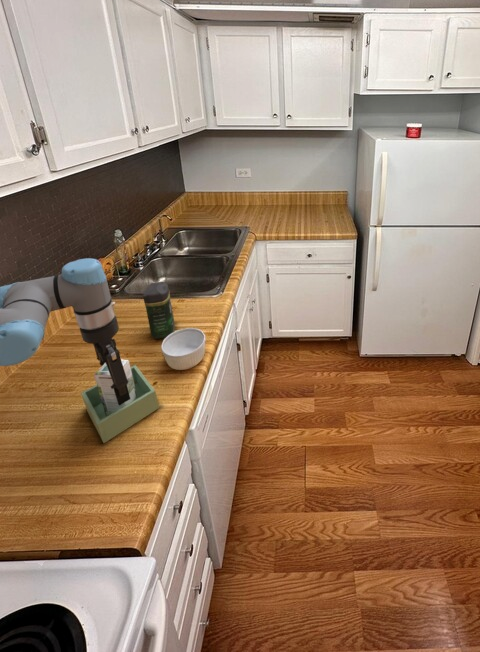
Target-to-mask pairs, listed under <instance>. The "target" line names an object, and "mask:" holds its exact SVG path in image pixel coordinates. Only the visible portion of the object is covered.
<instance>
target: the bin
mask: <svg viewBox="0 0 480 652" xmlns="http://www.w3.org/2000/svg"><path fill="white" fill-rule="evenodd" d="M130 368H131V372H132V376H133V380H134V385H135V389H136V393H137V397H138V399H136V400H134V401H133V402H131V403H129V404H128V405H126V406H124V407H123V408H121V409H119V410H117V411H116V412H114V413H112V414H111V415H109V416H106V415H105V412H104V408H103V404H102V401H101V398H100V394H99V391H98V387H97V384H95V385H93V386H91V387H89V388H88V389H85V390H84V391H81V392H80V394H81V397H82V400H83V403H84V406H85V409H86V411H87V414H88V415H89V418H90V420H91V421H92V423H93V426H94V428H95V429H96V431H97V433H98V435H99V437H100V439H101V441H102V443H103V444H105V443H107V442H109V441H110V440H112V439H113V438H115V437H116V436H118V435H120V434H121V433H122V432H125V431H126V430H127V429H130V427H132V426H133V425H135V424H137V423H139V422H140V421H141V420H143V419H144V418H146V417H148V416H149V415H151V414H152V413H154V412H156V411H157V410H159V409H160V405H159V400H158V397H157V396H158V395H157V391H156V390H155V388H154V387H153V386H152V384H151V383H150V382H149V380H148V379H147V378H146V377H145V375H144V374H143V373H142V371H141V370H140V369H139V368H138V366H137V365H136V364H134V365H132V366H130Z"/></svg>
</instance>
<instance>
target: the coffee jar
mask: <svg viewBox="0 0 480 652" xmlns="http://www.w3.org/2000/svg"><path fill="white" fill-rule="evenodd" d="M142 297H143V303H144V307H145V311H146V317H147V320H148V326H149V331H150V336H151V338H152V339H155V340H161V339H162V340H164V339H165V338H166V337H167V336H168V335H170V334H171V333H173V332H175V328H176V321H175V317H174V311H173V306H172V300H171V295H170V289H169V285H168V284H167V283H166V282H164V281H158V282H157V281H156V282H151V283H150V284H148V285H147V286H146V287H145V289H144V291H143V295H142Z"/></svg>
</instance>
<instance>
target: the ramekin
mask: <svg viewBox="0 0 480 652" xmlns="http://www.w3.org/2000/svg"><path fill="white" fill-rule="evenodd" d="M206 341H207V340H206V334H205V332H204V331H203V330H202V329H199V328H196V327H185V328H180V329H178V330H174V332H173V333H171V334H170V335H168V336H167V337H166V338H163V341H162V343H161V345H160V349H161V353H162V355H163V357H164V360H165V363H166V364H167V366H169V367H170V368H171V369H173V370H176V371H185V370H188V369H192V368H194V367H195V366H197V365H199V364H200V362H201V361H202V360H203V359H204V358H205V357H204V356H205V354H206Z"/></svg>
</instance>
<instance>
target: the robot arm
mask: <svg viewBox="0 0 480 652" xmlns="http://www.w3.org/2000/svg"><path fill="white" fill-rule="evenodd" d="M114 306H116V302H115V301H113V300H112V296H111V292H110V288H109V284H108V279H107V275H106V273H105V271H104V268H103V265H102V263H101V261H99V260H98V259H96V258H91V257H89V258H88V257H87V258H80V259H76V260H74V261H70V262H68V263H66V264H65V265H63V267H62V268H61V273H60V274H58V275H52V276H47V277H41V278H36V279H31V280H24V281H16V282H14V283H11V284H10V283H9V284H7V285H2V286H0V367H10V366H11V367H12V366H16V365H19V364H22V363H24V362H25V361H28V360H29V359H31V358H33V356H34V355H35V354H36V352H37V351H38V349H39V347H40V345H41V342H42V341H43V340H44V337H45V330H46V327H47V323H48V320H49V317H50V314H51V312H54V311H55V312H56V311H59V310H63V309H68V308H70V307H72V309H73V314H74V317H75V320H76V323H77V326H78V327H79V331H80V334H81V338H82V340H83V342H85V343H87V344H89V345H90V344H91V345H92V346H93V347H94V351H95V356H96V360H97V361H98V362H99V365H100V366H101V367H102V366H103V364H104V363H105V362H106V365H107V368H108V370H109V373H110V376H111V378H112V381H113V385H112V386H110V387H111V389H113V388H114V392H115V395H116V398H117V402H118V405H121V404H123V403H124V402H126V401H128V400H130V395H129V392H128V388H127V384H128V380H127V377H126V374H125V371H124V368H123V365H122V362H121V359H122V358H121V354H120V350H119V349H117V342H116V340H115V338H113V337H114V336H116V335H117V333H118V332H119V330H120V329H119V328H120V326H119V322H118V318H117V315H116V312H115V308H114Z"/></svg>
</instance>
